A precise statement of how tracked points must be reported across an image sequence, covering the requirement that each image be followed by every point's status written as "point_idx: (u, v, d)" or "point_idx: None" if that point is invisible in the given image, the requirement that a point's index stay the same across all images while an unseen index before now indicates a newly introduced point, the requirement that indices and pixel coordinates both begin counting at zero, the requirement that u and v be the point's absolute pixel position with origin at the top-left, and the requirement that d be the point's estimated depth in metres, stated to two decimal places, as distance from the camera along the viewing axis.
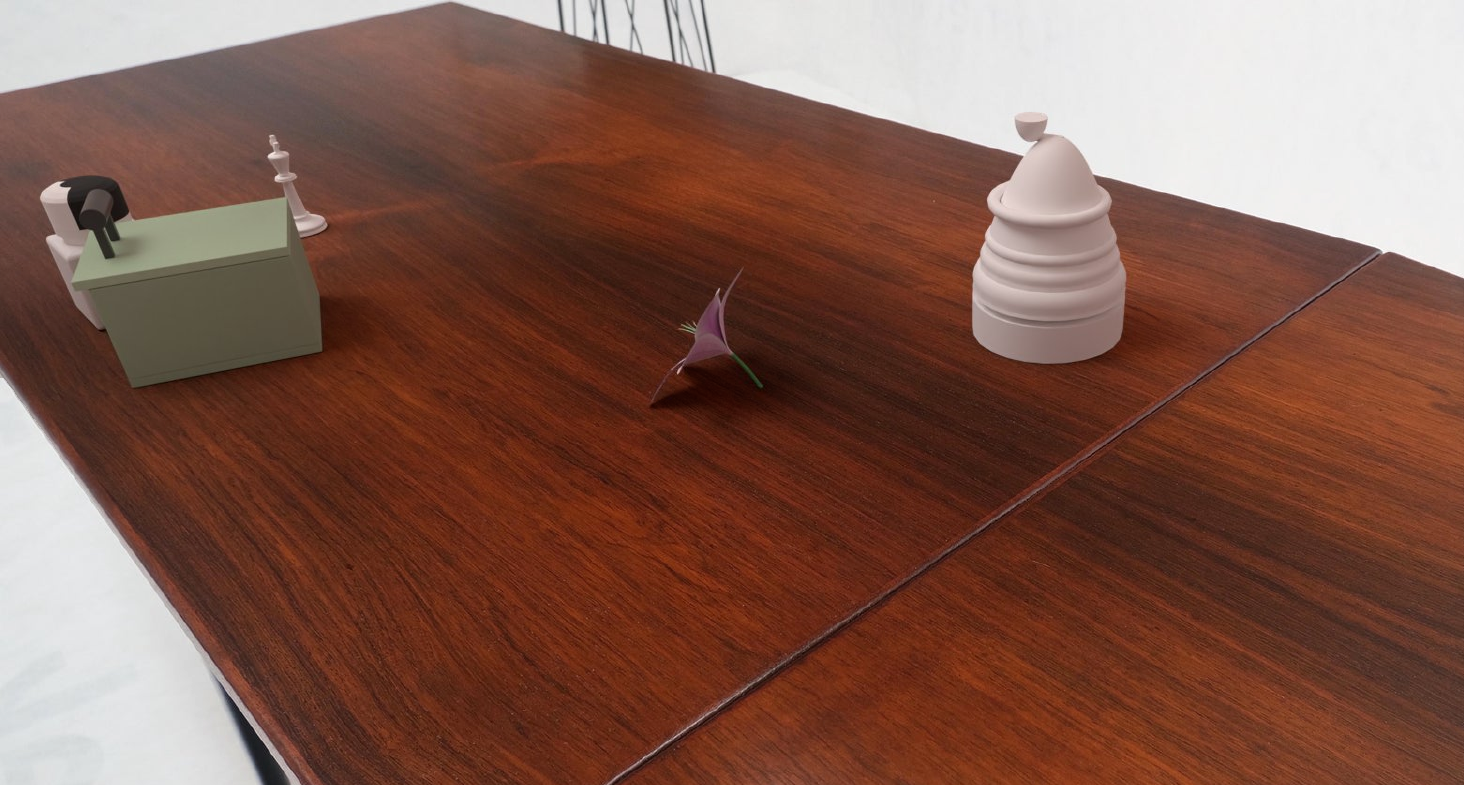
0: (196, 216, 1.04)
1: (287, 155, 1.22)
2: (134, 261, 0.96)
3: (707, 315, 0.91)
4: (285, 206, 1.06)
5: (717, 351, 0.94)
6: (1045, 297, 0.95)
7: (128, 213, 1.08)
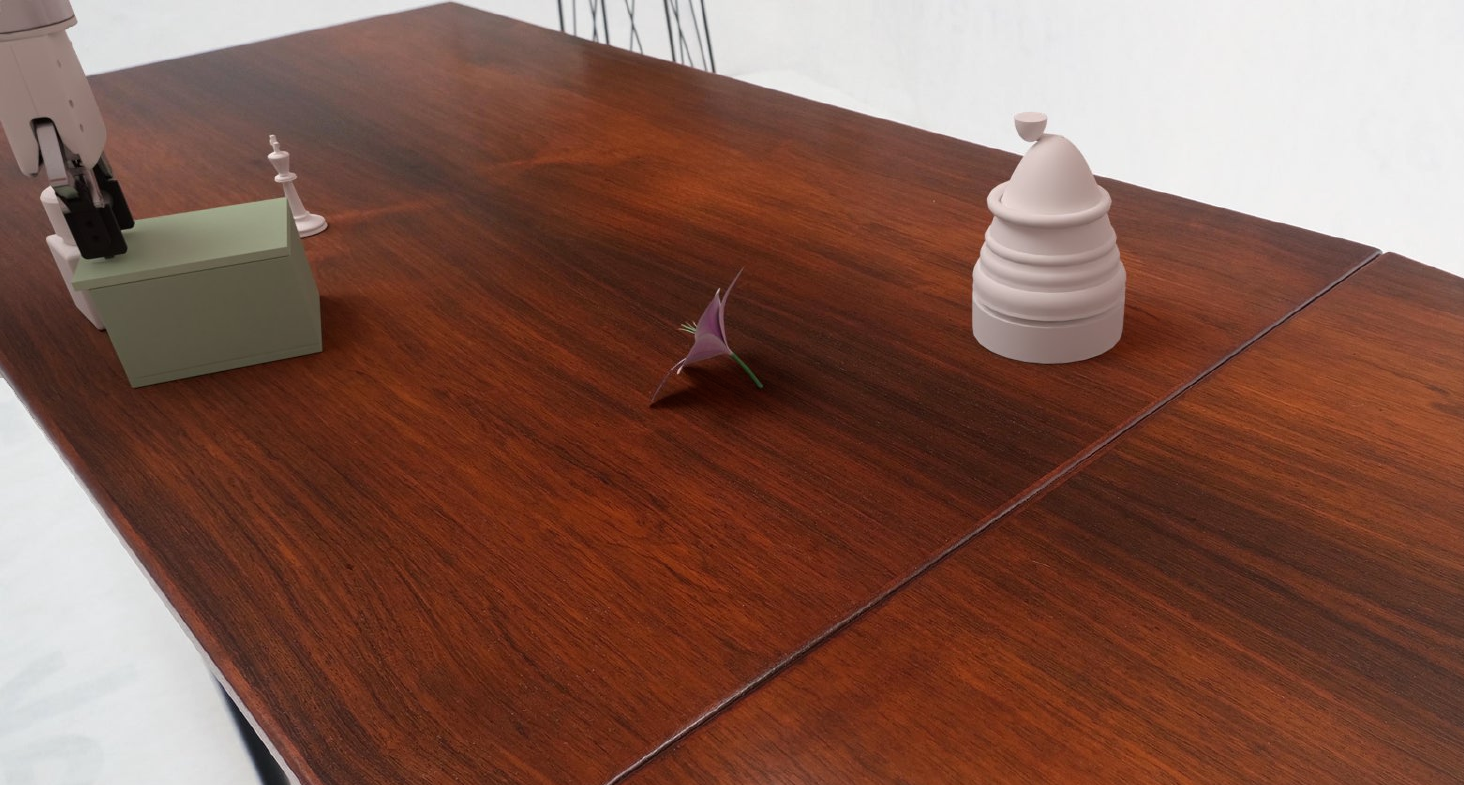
0: (196, 216, 1.04)
1: (287, 155, 1.22)
2: (134, 261, 0.96)
3: (707, 315, 0.91)
4: (285, 206, 1.06)
5: (717, 351, 0.94)
6: (1045, 297, 0.95)
7: None
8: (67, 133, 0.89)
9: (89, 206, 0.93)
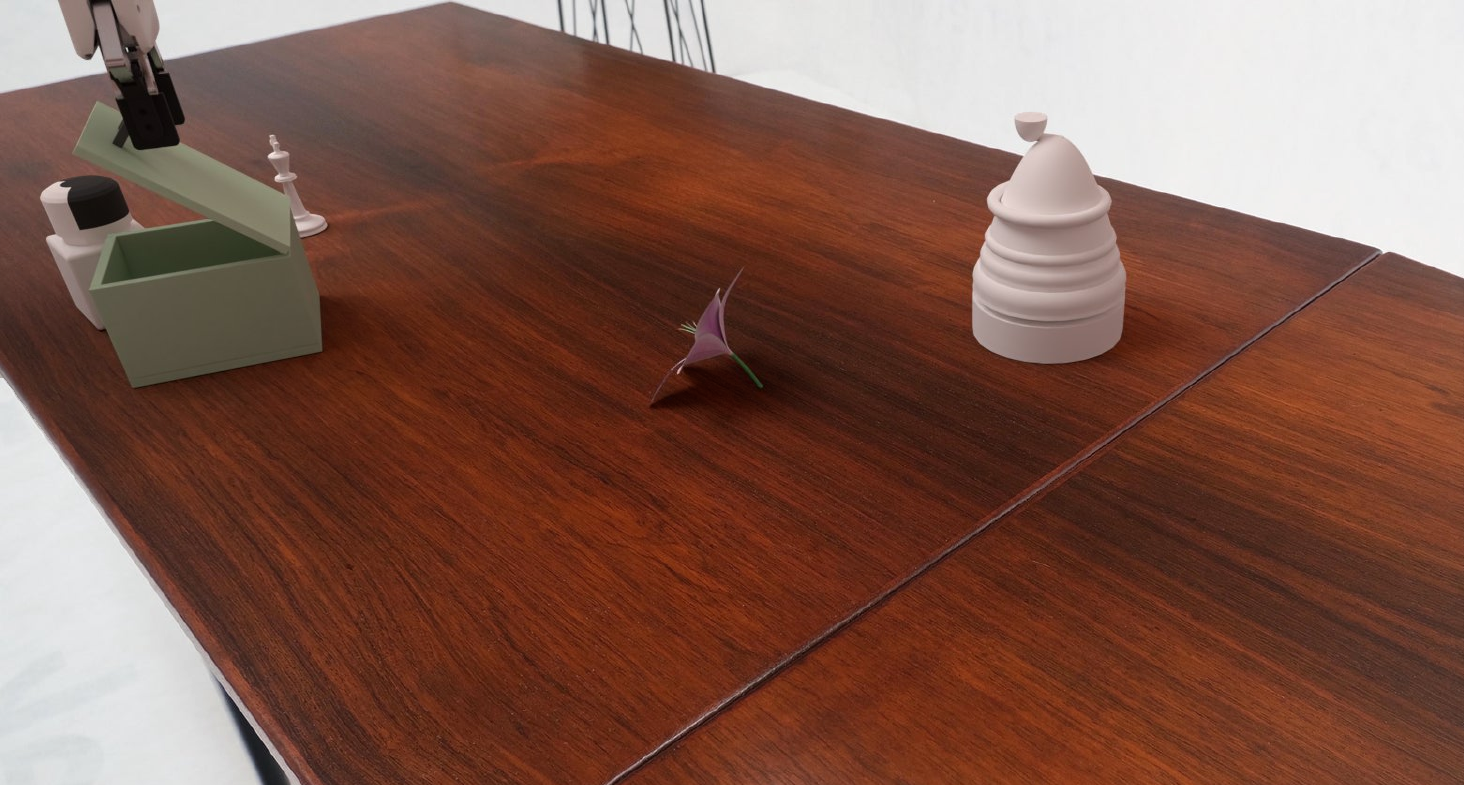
0: (203, 158, 1.02)
1: (287, 155, 1.22)
2: (142, 165, 0.93)
3: (707, 315, 0.91)
4: (289, 206, 1.06)
5: (717, 351, 0.94)
6: (1045, 297, 0.95)
7: (128, 213, 1.08)
8: (124, 13, 0.87)
9: (143, 92, 0.90)
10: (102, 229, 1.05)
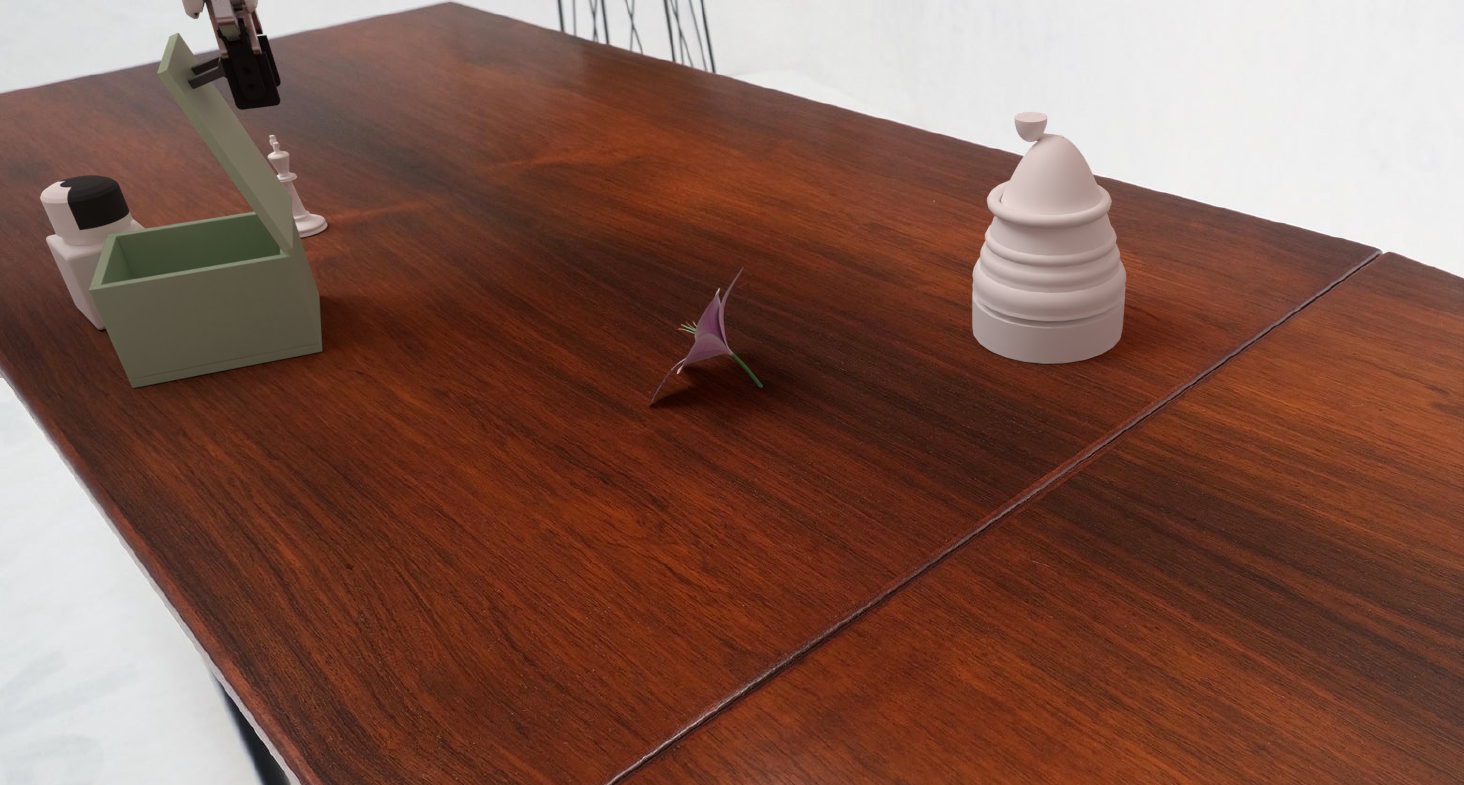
0: (241, 129, 1.02)
1: (287, 155, 1.22)
2: (205, 114, 0.93)
3: (707, 315, 0.91)
4: (291, 207, 1.06)
5: (717, 351, 0.94)
6: (1045, 297, 0.95)
7: (128, 213, 1.08)
8: None
9: (248, 51, 0.92)
10: (102, 229, 1.05)
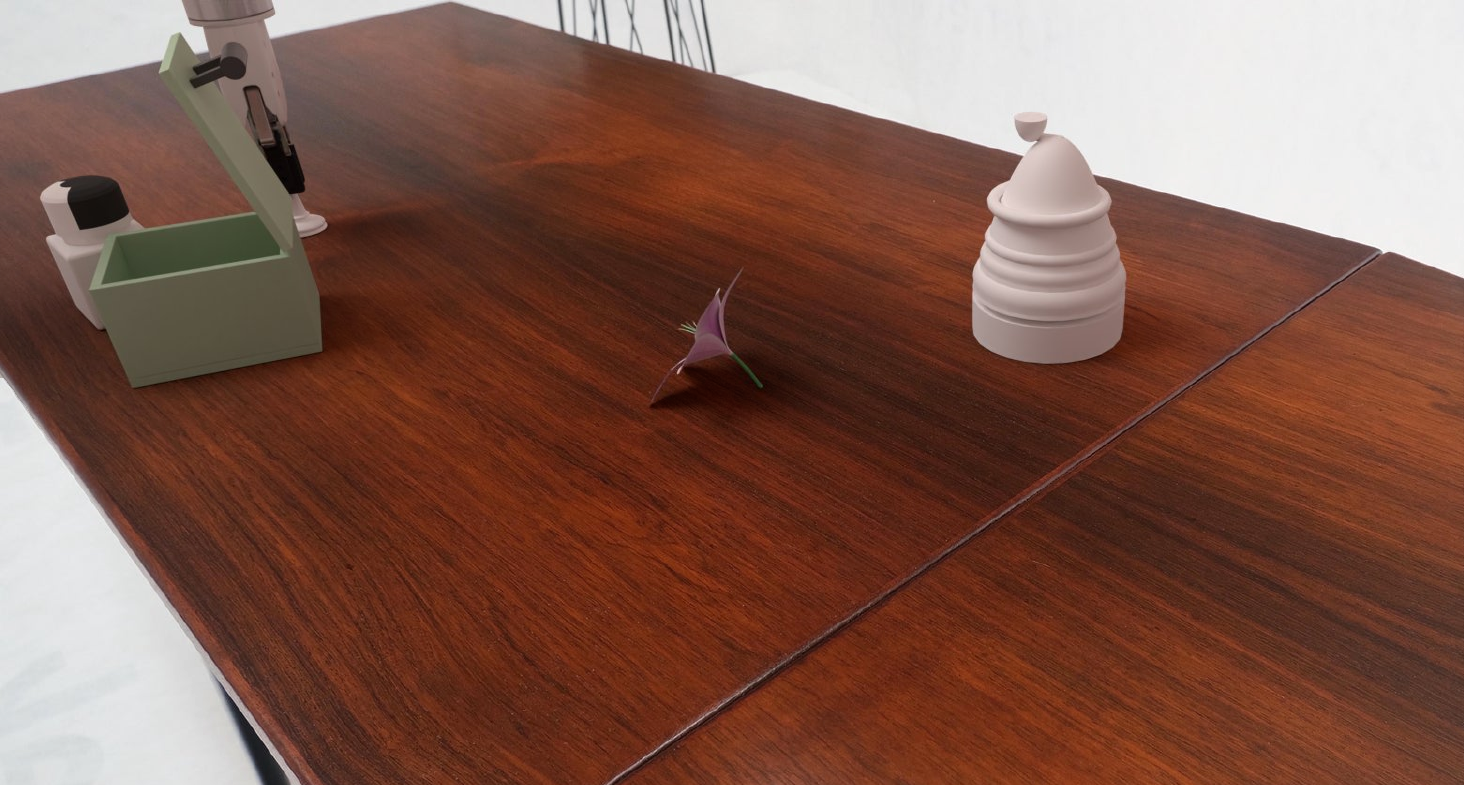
0: (241, 129, 1.02)
1: None
2: (206, 113, 0.93)
3: (707, 315, 0.91)
4: (291, 207, 1.06)
5: (717, 351, 0.94)
6: (1045, 297, 0.95)
7: (128, 213, 1.08)
8: (269, 98, 1.15)
9: (281, 154, 1.20)
10: (102, 229, 1.05)
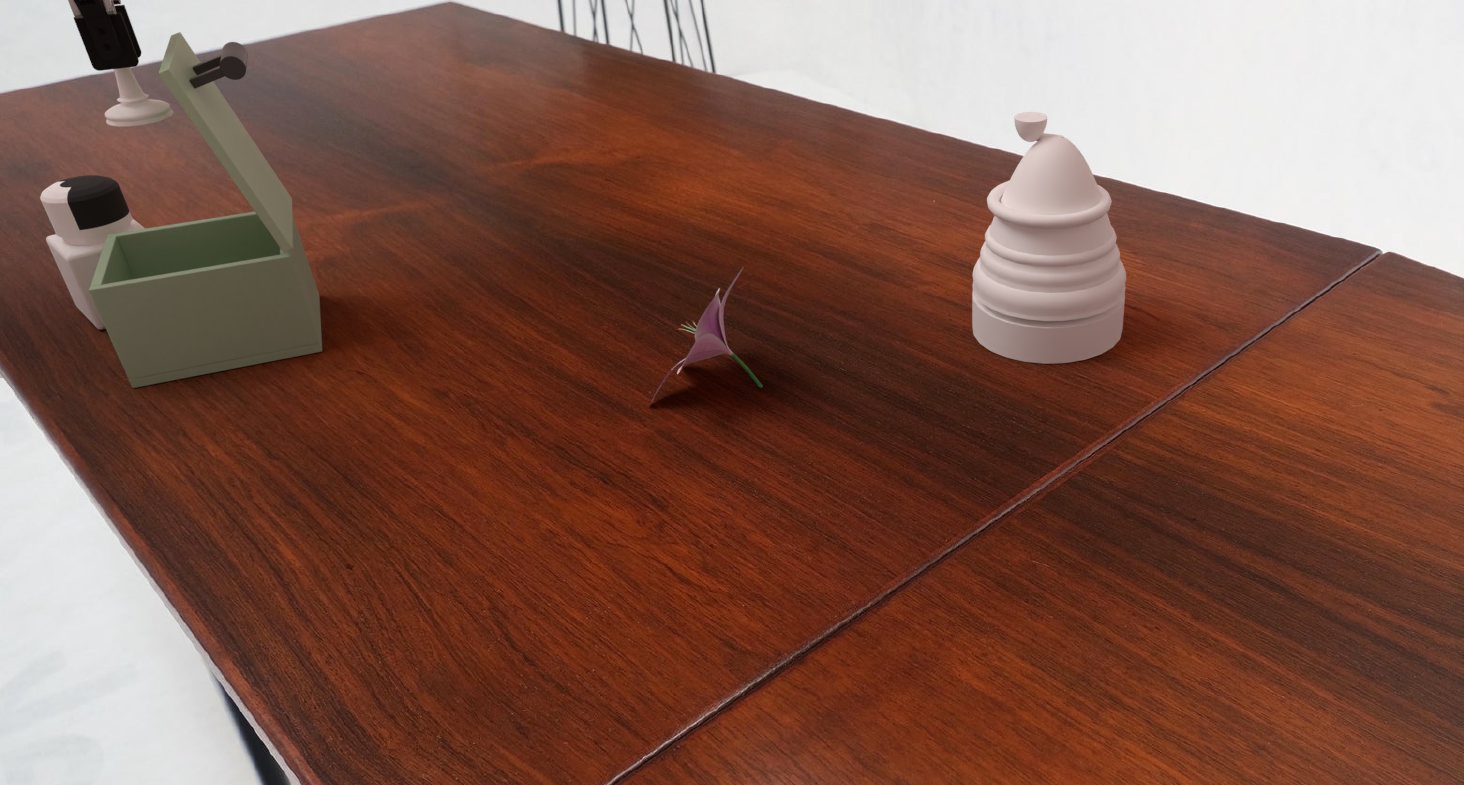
0: (241, 129, 1.02)
1: None
2: (206, 113, 0.93)
3: (707, 315, 0.91)
4: (291, 207, 1.06)
5: (717, 351, 0.94)
6: (1045, 297, 0.95)
7: (128, 213, 1.08)
8: None
9: (101, 11, 0.92)
10: (102, 229, 1.05)
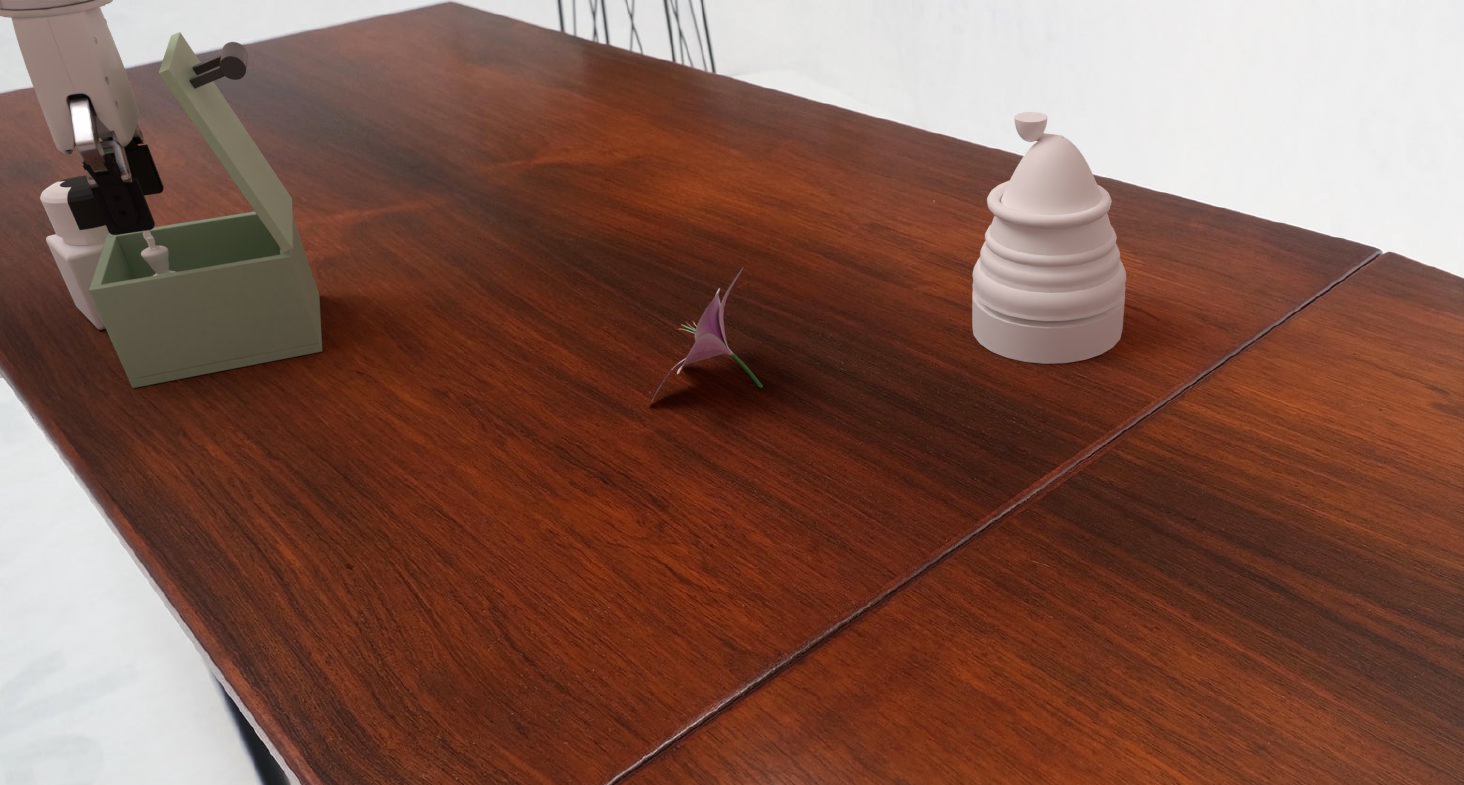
0: (241, 129, 1.02)
1: (165, 251, 1.00)
2: (206, 113, 0.93)
3: (707, 315, 0.91)
4: (291, 207, 1.06)
5: (717, 351, 0.94)
6: (1045, 297, 0.95)
7: None
8: (103, 110, 0.89)
9: (117, 180, 0.91)
10: (102, 229, 1.05)
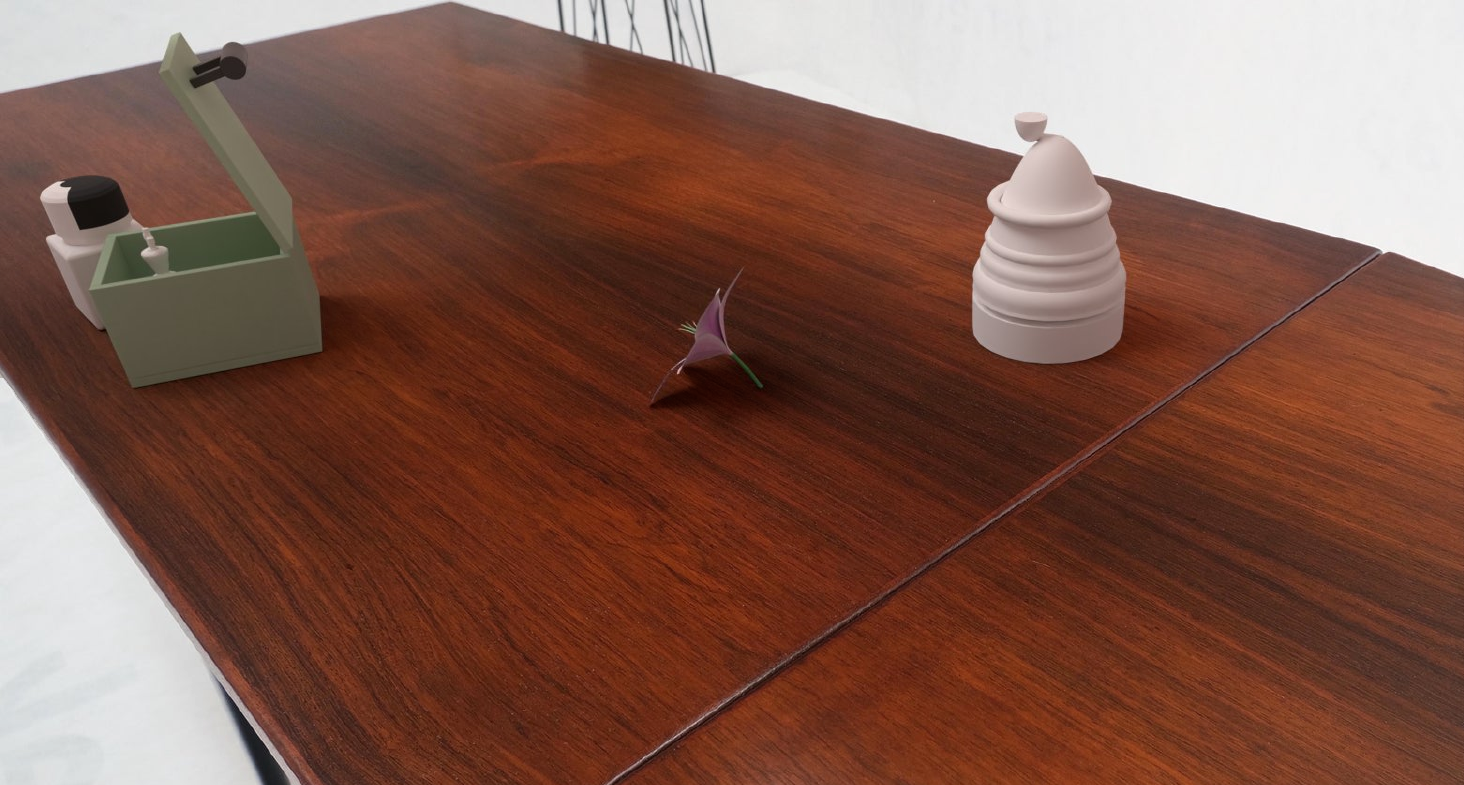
0: (241, 129, 1.02)
1: (165, 251, 1.00)
2: (206, 113, 0.93)
3: (707, 315, 0.91)
4: (291, 207, 1.06)
5: (717, 351, 0.94)
6: (1045, 297, 0.95)
7: (128, 213, 1.08)
8: None
9: None
10: (102, 229, 1.05)
